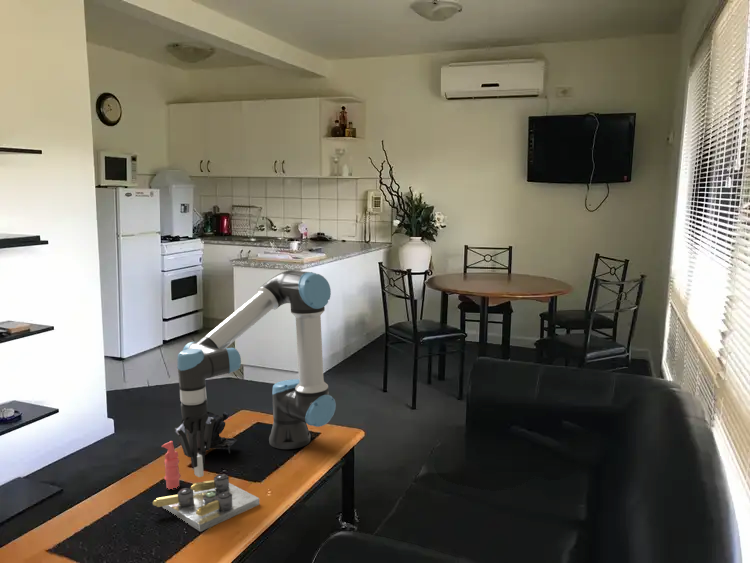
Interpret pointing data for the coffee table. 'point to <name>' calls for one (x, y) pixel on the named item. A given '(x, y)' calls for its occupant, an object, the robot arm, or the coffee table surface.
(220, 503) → the screw side
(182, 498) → the screw
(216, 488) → the screw
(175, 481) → the figurine
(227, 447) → the vintage camera
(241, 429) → the coffee table surface
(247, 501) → the tribrach plate
